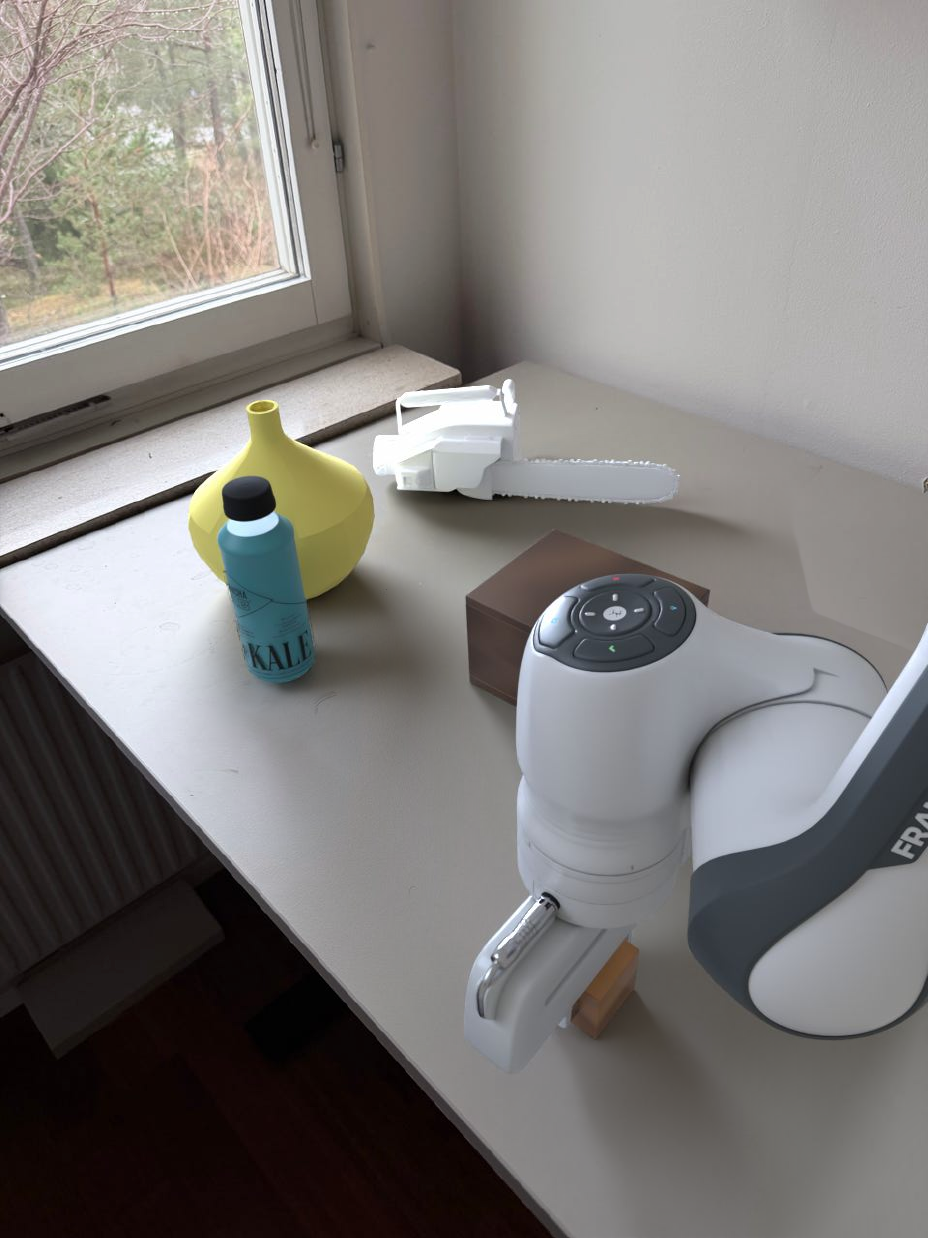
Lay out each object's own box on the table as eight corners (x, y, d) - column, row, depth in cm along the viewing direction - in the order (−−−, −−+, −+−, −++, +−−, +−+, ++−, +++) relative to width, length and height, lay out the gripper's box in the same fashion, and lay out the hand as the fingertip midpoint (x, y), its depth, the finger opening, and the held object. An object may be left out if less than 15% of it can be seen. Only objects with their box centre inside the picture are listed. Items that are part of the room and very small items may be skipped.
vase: (240, 523, 107) (204, 363, 95) (397, 531, 104) (380, 367, 92) (178, 623, 93) (126, 450, 81) (358, 635, 90) (332, 458, 78)
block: (634, 987, 61) (640, 948, 58) (596, 1040, 58) (599, 1002, 55) (577, 949, 63) (579, 909, 60) (537, 998, 60) (538, 959, 58)
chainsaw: (677, 520, 103) (690, 416, 96) (369, 506, 108) (357, 407, 101) (674, 453, 115) (684, 356, 107) (395, 444, 120) (386, 350, 112)
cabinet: (697, 677, 83) (710, 589, 77) (618, 762, 76) (627, 672, 70) (552, 611, 92) (554, 527, 86) (469, 682, 84) (464, 595, 78)
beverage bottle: (279, 642, 90) (240, 456, 77) (335, 664, 87) (303, 475, 74) (233, 683, 85) (184, 493, 73) (290, 707, 83) (249, 514, 70)
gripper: (529, 1019, 43) (529, 1148, 52) (738, 759, 55) (710, 899, 64) (427, 943, 46) (443, 1076, 55) (645, 713, 58) (630, 852, 67)
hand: (587, 979), depth 60 cm, fingers closed on block, 4 cm apart
